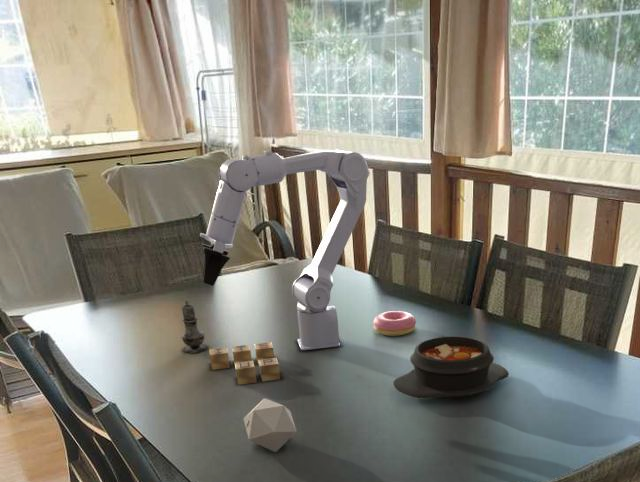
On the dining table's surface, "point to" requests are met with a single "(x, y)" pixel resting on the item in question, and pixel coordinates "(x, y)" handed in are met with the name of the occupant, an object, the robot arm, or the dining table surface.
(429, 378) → the casserole
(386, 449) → the dining table surface
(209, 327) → the dining table surface
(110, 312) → the dining table surface
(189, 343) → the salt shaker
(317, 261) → the robot arm
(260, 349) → the tile
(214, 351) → the tile
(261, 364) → the tile
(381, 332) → the doughnut
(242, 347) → the tile
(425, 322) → the dining table surface
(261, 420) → the die
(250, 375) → the tile
